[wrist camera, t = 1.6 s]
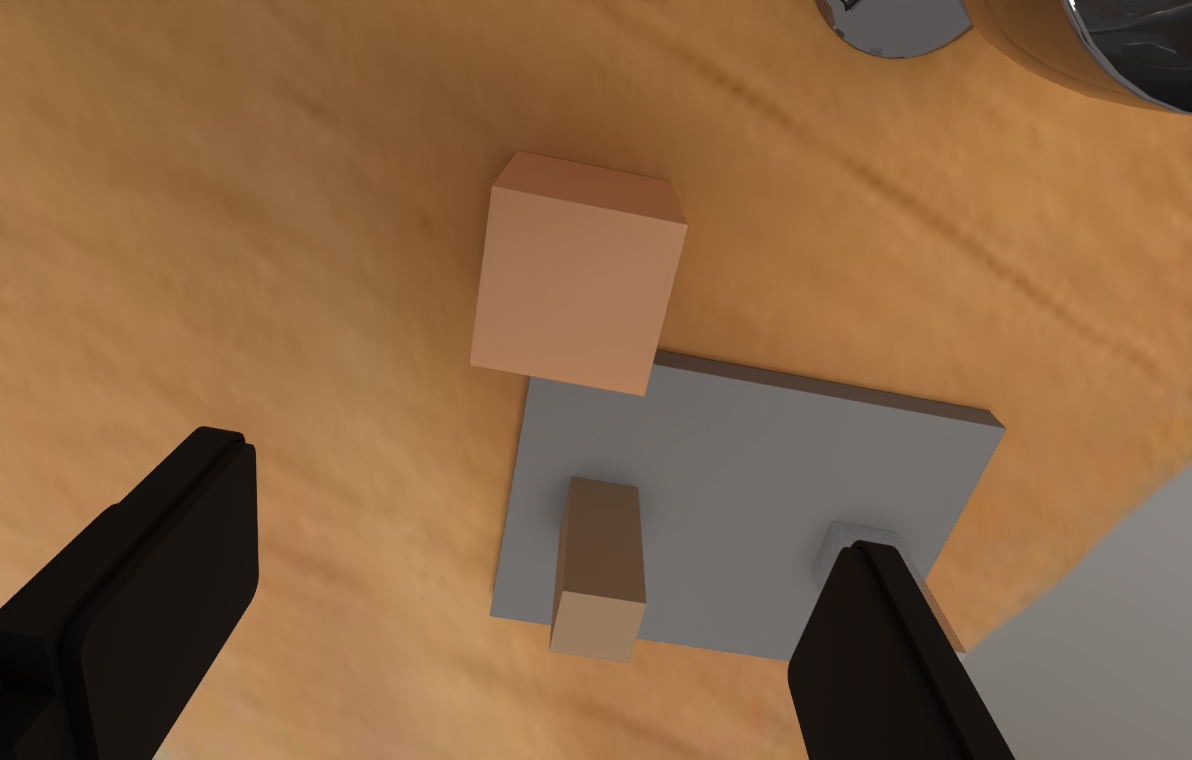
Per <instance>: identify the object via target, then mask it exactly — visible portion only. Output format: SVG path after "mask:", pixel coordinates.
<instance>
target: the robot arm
mask: <svg viewBox="0 0 1192 760" xmlns="http://www.w3.org/2000/svg"><path fill="white" fill-rule="evenodd" d="M258 579H259V564H258V522H257V481H256V451H255V447H254V445H252V444H248V443H245V438H244V436H243V434H241V433H240V432H234V431H229V430H223V429H217V428H211V427H206V426H202V427H199V428H197V429H196V430H195V431H194V432H192V433H191V434H190V435H189V436H188V437H187V438H186V439H185V440H184V441H183V442H182V443H181V444H180V445H179V446H178V447H177V448H176V449H175V450H174V451H173V452H172V453H171V454H170V455H169V456H167V457H166V458H165V459H164V460H163V461H162V462H161V463H160V464H159V465H158V466H157V467H156V468H155V469H154V470H153V471H152V472H151V473H150V474H149V475H148V476H147V477H146V478H145V479H143V480H142V481H141V482H140V483H139V484H138V485H137V486H136V487H135V488H134V489H133V490H132V491H131V492H130V493H129V494H128V495H127V496H126V497H125V498H124V499H123V500H122V501H121V502H119V503H117V504H113V505H111V506H110V507H108V508H107V509H106V510H104V511H103V512H102V513H101V514H100V515H99V516H98V517H97V518H96V519H94V520H93V521H92V522H91V523H90V524H89V525H88V526H87V527H86V528H85V529H84V530H83V531H82V532H81V533H80V534H79V535H78V536H76V537H75V538H74V539H73V540H72V541H71V542H70V543H69V544H68V545H67V546H66V547H65V548H64V549H63V550H62V551H61V552H60V553H58V554H57V555H56V556H55V557H54V558H53V559H52V560H51V561H50V562H49V563H48V564H47V565H46V566H45V567H44V568H43V569H42V570H40V571H39V572H38V573H37V574H36V575H35V576H34V577H33V578H32V579H31V580H30V581H29V582H28V583H27V584H26V585H25V586H24V587H22V588H21V589H20V590H19V591H18V592H17V593H16V594H15V595H14V596H13V597H12V598H11V599H10V600H9V601H8V602H7V603H6V604H5V605H3V606H2V607H1V608H0V760H152V758H153V757H154V755H155V754H156V752H157V750H158V749H159V747H160V746H161V744H162V743H163V741H164V739H165V738H166V736H167V735H168V733H169V731H170V730H171V728H172V727H173V725H174V723H175V722H176V720H177V719H178V717H179V715H180V714H181V712H182V711H183V709H184V708H185V706H186V704H187V703H188V701H189V700H190V698H191V696H192V695H193V693H194V692H195V690H196V688H197V687H198V685H199V684H200V682H201V681H202V679H203V677H204V676H205V674H206V673H207V671H208V669H209V668H210V666H211V665H212V663H213V661H214V660H215V658H216V657H217V655H218V654H219V652H220V650H221V649H222V647H223V646H224V644H225V642H226V641H227V639H228V638H229V636H230V634H231V633H232V631H233V630H234V628H235V627H236V625H237V623H238V622H239V620H240V619H241V617H242V615H243V614H244V612H245V611H246V609H247V607H248V606H249V604H250V603H251V601H252V599H253V597H254V595H255V592H256V589H257V585H258ZM788 684H789V688H790V692H791V695H792V699H793V703H794V706H795V710H796V714H797V717H798V721H799V724H800V728H801V732H802V735H803V739H804V742H805V746H806V750H807V753H808V757H809V760H1015V758H1014V756H1013V755H1012V753H1011V751H1010V749H1009V747H1008V745H1007V744H1006V742H1005V740H1004V738H1003V737H1002V735H1001V733H1000V731H999V729H998V728H997V726H996V724H995V723H994V721H993V719H992V717H991V715H990V713H989V712H988V710H987V708H986V706H985V704H984V703H983V701H982V699H981V697H980V696H979V694H978V692H977V690H976V689H975V687H974V685H973V683H972V681H971V679H970V678H969V676H968V674H967V672H966V671H965V669H964V667H963V665H962V663H961V662H960V660H959V658H958V656H957V655H956V653H955V651H954V649H953V647H952V646H951V644H950V642H949V640H948V638H947V637H946V635H945V633H944V631H943V630H942V628H941V626H940V624H939V622H938V621H937V619H936V617H935V615H934V614H933V612H932V610H931V608H930V606H929V605H928V603H927V601H926V599H925V597H924V596H923V594H922V592H921V590H920V589H919V587H918V585H917V583H916V581H915V580H914V578H913V576H912V574H911V572H910V571H909V569H908V567H907V565H906V564H905V562H904V560H903V558H902V556H901V555H900V553H899V551H898V550H897V549H896V548H895V547H894V546H892V545H887V544H881V543H875V542H869V541H864V540H857V541H855V542H854V543H853V544H852V545H851V547H844V548H842V549H841V551H840V552H839V554H838V556H837V559H836V561H835V563H834V565H833V567H832V569H831V572H830V574H829V576H828V578H827V580H826V583H825V585H824V587H823V589H822V591H821V594H820V596H819V598H818V600H817V602H816V605H815V607H814V609H813V611H812V613H811V616H810V618H809V620H808V622H807V624H806V627H805V629H804V631H803V633H802V635H801V638H800V640H799V642H798V644H797V646H796V649H795V651H794V653H793V655H792V657H791V660H790V663H789V667H788Z"/></svg>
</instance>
